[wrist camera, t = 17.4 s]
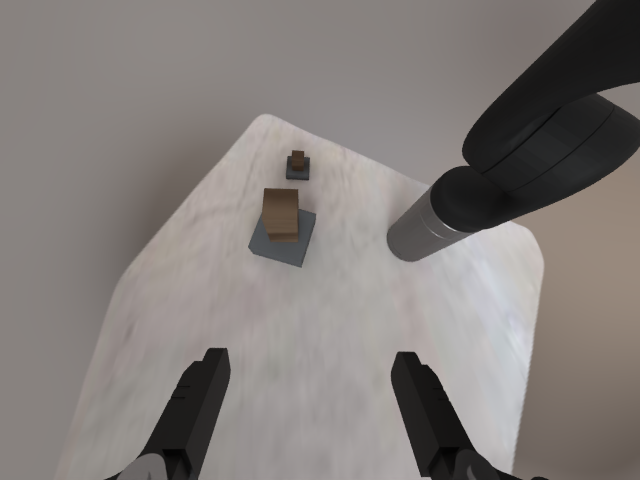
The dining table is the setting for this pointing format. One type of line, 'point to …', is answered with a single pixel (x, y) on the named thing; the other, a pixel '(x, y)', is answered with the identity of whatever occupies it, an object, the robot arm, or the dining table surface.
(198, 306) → the dining table surface
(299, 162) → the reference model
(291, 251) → the slate base block
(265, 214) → the walnut block
